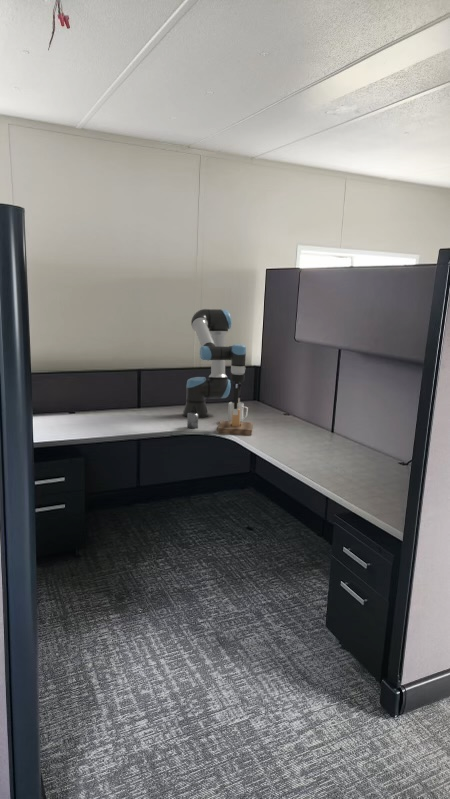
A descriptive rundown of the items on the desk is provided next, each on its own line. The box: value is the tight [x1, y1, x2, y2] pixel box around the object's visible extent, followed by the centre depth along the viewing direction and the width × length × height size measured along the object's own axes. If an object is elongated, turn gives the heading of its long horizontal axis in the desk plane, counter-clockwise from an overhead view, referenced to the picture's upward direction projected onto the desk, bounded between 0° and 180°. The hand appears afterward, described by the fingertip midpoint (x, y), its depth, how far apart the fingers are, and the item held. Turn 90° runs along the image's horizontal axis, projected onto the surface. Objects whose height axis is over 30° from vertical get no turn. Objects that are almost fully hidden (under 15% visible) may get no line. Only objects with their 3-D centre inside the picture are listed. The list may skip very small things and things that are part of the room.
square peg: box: [232, 409, 240, 427], centre depth 297 cm, size 4×4×12 cm
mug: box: [227, 401, 249, 422], centre depth 317 cm, size 12×9×11 cm
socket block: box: [217, 420, 254, 436], centre depth 297 cm, size 18×18×3 cm
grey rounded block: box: [186, 413, 199, 430], centre depth 300 cm, size 6×6×8 cm
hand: (236, 412), depth 296 cm, fingers open, 13 cm apart
